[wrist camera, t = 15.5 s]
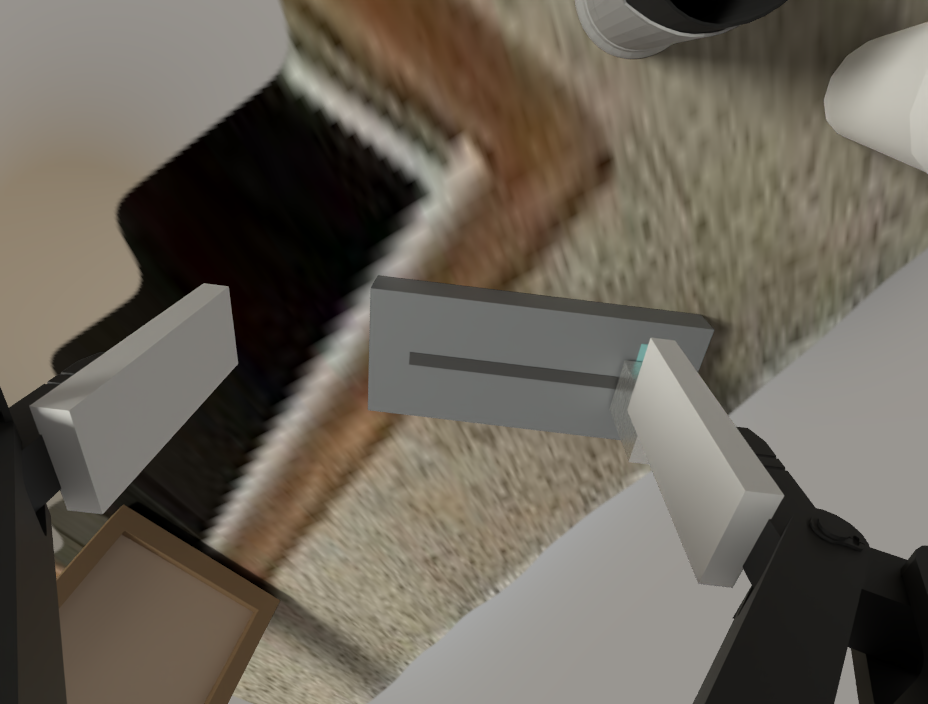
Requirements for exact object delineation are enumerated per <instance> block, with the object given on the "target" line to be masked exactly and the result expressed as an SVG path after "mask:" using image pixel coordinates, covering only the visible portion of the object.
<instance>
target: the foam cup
mask: <svg viewBox="0 0 928 704" xmlns="http://www.w3.org/2000/svg"><path fill="white" fill-rule="evenodd" d="M824 107H825V115H826V120H827V122H828V123H829V124H830V125H831V126H832V128H833V129H834V130H835V131H836V133H837V134H840V135H842V136H843V137H846V138H848V139H850V140H853V141H855V142H857V143H859V144H862V145H864V146H866V147H869V148H871V149H873V150H876V151H878V152H880V153H882V154H885V155H887V156H889V157H892V158H894V159H896V160H899V161H901V162H903V163H905V164H908V165H910V166H912V167H915V168H917V169H919V170H922V171H924V172H926V173H927V174H928V22H925V23H922V24H919V25H916V26H913V27H910V28H906V29H903V30H900V31H897V32H894V33H891V34H887V35H884V36H881V37H878V38H875V39H874V40H869V41H868V42H866V43H865V44H863V45H862V46H860V47H859V48H857V49H856V50H855V51H853V52H852V53H850V54H849V55H847V56H846V58H845V59H844V60H843V62H842V63H841V64H840V66H839V67H838V68H837V70H836V71H835V72H834V74H833V75H832V76H831V78H830V81H829V85H828V88H827V91H826V94H825V97H824Z"/></svg>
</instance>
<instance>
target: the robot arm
mask: <svg viewBox="0 0 928 704" xmlns="http://www.w3.org/2000/svg"><path fill="white" fill-rule="evenodd" d="M237 364H238V360H237V351H236V343H235V335H234V327H233V319H232V310H231V302H230V294H229V286H221V285H212V284H202V285H201V286H199V287H198V288H197V289H195V290H194V291H192V292H191V293H189V294H188V295H187V296H185V297H184V298H182V299H181V300H180V301H178V302H177V303H175V304H174V305H172V306H171V307H170V308H168V309H167V310H165V311H164V312H162V313H161V314H160V315H158V316H157V317H155V318H154V319H152V320H151V321H150V322H148V323H147V324H145V325H144V326H142V327H141V328H140V329H138V330H137V331H135V332H134V333H133V334H131V335H130V336H128V337H127V338H125V339H124V340H123V341H121V342H120V343H118V344H117V345H115V346H114V347H113V348H111V349H110V350H108V351H107V352H105V353H103V352H100V353H97V354H95V355H92V356H90V357H87V358H84V359H82V360H79V361H77V362H76V363H74V364H73V365H71V366H70V367H68V368H67V369H65V370H64V371H63V372H61V375H57V376H55V377H54V378H52V379H51V380H49V381H48V384H43V385H42V386H40V387H39V388H37V389H36V390H35V391H33V392H32V393H30V394H29V395H27V396H26V397H24V398H23V399H21V400H20V401H18V402H17V403H15V404H14V405H12V406H11V407H10V408H8V405H7V403H6V400H5V398H4V395H3V393H2V390H1V388H0V704H67V697H66V686H65V674H64V663H63V652H62V640H61V629H60V617H59V606H58V594H57V583H56V572H55V560H54V550H53V538H52V526H51V515H50V512H49V510H48V507H47V505H46V502H48V501H49V500H50V499H51V498H52V497H53V496H54V495H55V494H56V493H57V492H58V491H59V490H60V491H61V494H62V497H63V499H64V502H65V505H66V507H67V510H71V511H80V512H88V513H97V514H103V513H104V512H105V511H106V510H107V509H108V508H109V507H110V505H111V504H112V503H113V502H114V501H115V500H116V499H117V498H118V497H119V495H120V494H121V493H122V492H123V491H124V490H125V489H126V488H127V487H128V485H129V484H130V483H131V482H132V481H133V480H134V479H135V478H136V476H137V475H138V474H139V473H140V472H141V471H142V470H143V469H144V468H145V466H146V465H147V464H148V463H149V462H150V461H151V460H152V459H153V458H154V456H155V455H156V454H157V453H158V452H159V451H160V450H161V449H162V448H163V446H164V445H165V444H166V443H167V442H168V441H169V440H170V439H171V438H172V436H173V435H174V434H175V433H176V432H177V431H178V430H179V429H180V428H181V426H182V425H183V424H184V423H185V422H186V421H187V420H188V419H189V418H190V416H191V415H192V414H193V413H194V412H195V411H196V410H197V409H198V408H199V406H200V405H201V404H202V403H203V402H204V401H205V400H206V399H207V398H208V396H209V395H210V394H211V393H212V392H213V391H214V390H215V389H216V388H217V386H218V385H219V384H220V383H221V382H222V381H223V380H224V379H225V378H226V376H227V375H228V374H229V373H230V372H231V371H232V370H233V369H234V368H235V366H236V365H237ZM627 411H628V413H629V416H630V418H631V421H632V423H633V426H634V428H635V430H636V433H637V435H638V438H639V440H640V443H641V445H642V448H643V450H644V452H645V455H646V457H647V460H648V462H649V465H650V467H651V469H652V472H653V474H654V476H655V479H656V481H657V484H658V487H659V489H660V491H661V494H662V496H663V499H664V501H665V504H666V506H667V508H668V511H669V513H670V516H671V518H672V521H673V523H674V526H675V528H676V530H677V533H678V535H679V538H680V540H681V543H682V545H683V547H684V550H685V552H686V554H687V557H688V560H689V562H690V564H691V567H692V569H693V572H694V574H695V577H696V579H697V581H698V584H706V585H714V586H722V587H731V588H733V586H734V585H735V583H736V581H737V579H738V577H739V576H740V574H741V572H742V570H743V569H744V571H745V573H746V575H747V577H748V579H749V581H750V582H751V584H752V586H751V588H750V589H749V591H748V593H747V595H746V596H745V598H744V600H743V601H742V603H741V605H740V606H739V608H738V610H737V612H736V613H735V615H734V617H733V618H734V621H733V623H732V625H731V627H730V629H729V631H728V633H727V635H726V637H725V639H724V641H723V643H722V645H721V648H720V650H719V651H718V653H717V656H716V658H715V660H714V662H713V664H712V666H711V668H710V670H709V672H708V674H707V676H706V678H705V680H704V682H703V684H702V686H701V688H700V690H699V692H698V695H697V696H696V698H695V700H694V702H693V704H834V701H835V697H836V693H837V689H838V685H839V680H840V676H841V672H842V668H843V664H844V660H845V656H846V651H847V647H849V648H851V651H852V658H853V665H854V672H855V679H856V686H857V693H858V700H859V704H928V546H921V547H920V548H918V549H916V550H915V552H914V553H913V554H912V555H911V557H910V558H909V559H908V560H906V559H903V558H900V557H897V556H894V555H891V554H888V553H885V552H882V551H879V550H876V549H873V548H870V547H869V544H868V542H867V541H866V539H865V538H864V536H863V535H862V534H861V533H860V532H859V531H858V530H857V529H855V527H853V526H852V525H851V524H850V523H848V522H846V521H845V520H843V519H842V518H840V517H838V516H837V515H834V514H832V513H830V512H827V511H824V510H821V509H817V508H815V507H814V505H813V504H812V503H811V501H810V500H809V499H808V497H807V496H806V495H805V493H804V492H803V491H802V489H801V488H800V487H799V485H798V484H797V483H796V481H795V480H794V479H793V477H792V476H791V475H790V474H789V472H788V471H785V467H784V466H783V464H782V463H781V462H780V460H779V459H776V455H775V454H774V452H773V451H772V450H771V448H770V447H769V446H768V444H767V443H766V442H765V441H764V440H763V439H761V438H760V437H759V436H757V435H756V434H755V433H754V432H752V431H751V430H749V429H748V428H741V427H736V426H735V425H734V423H733V422H732V421H731V419H730V418H729V416H728V415H727V413H726V412H725V411H724V409H723V408H722V406H721V405H720V403H719V402H718V401H717V399H716V398H715V396H714V395H713V394H712V392H711V391H710V389H709V388H708V386H707V385H706V384H705V382H704V381H703V379H702V378H701V377H700V375H699V374H698V372H697V371H696V369H695V368H694V367H693V365H692V364H691V362H690V361H689V360H688V358H687V357H686V355H685V354H684V352H683V351H682V350H681V348H680V347H679V345H678V344H677V342H676V341H675V340H667V339H659V338H650V341H649V344H648V347H647V350H646V353H645V357H644V360H643V363H642V366H641V369H640V372H639V375H638V378H637V381H636V384H635V388H634V391H633V394H632V397H631V400H630V403H629V406H628V409H627Z"/></svg>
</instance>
